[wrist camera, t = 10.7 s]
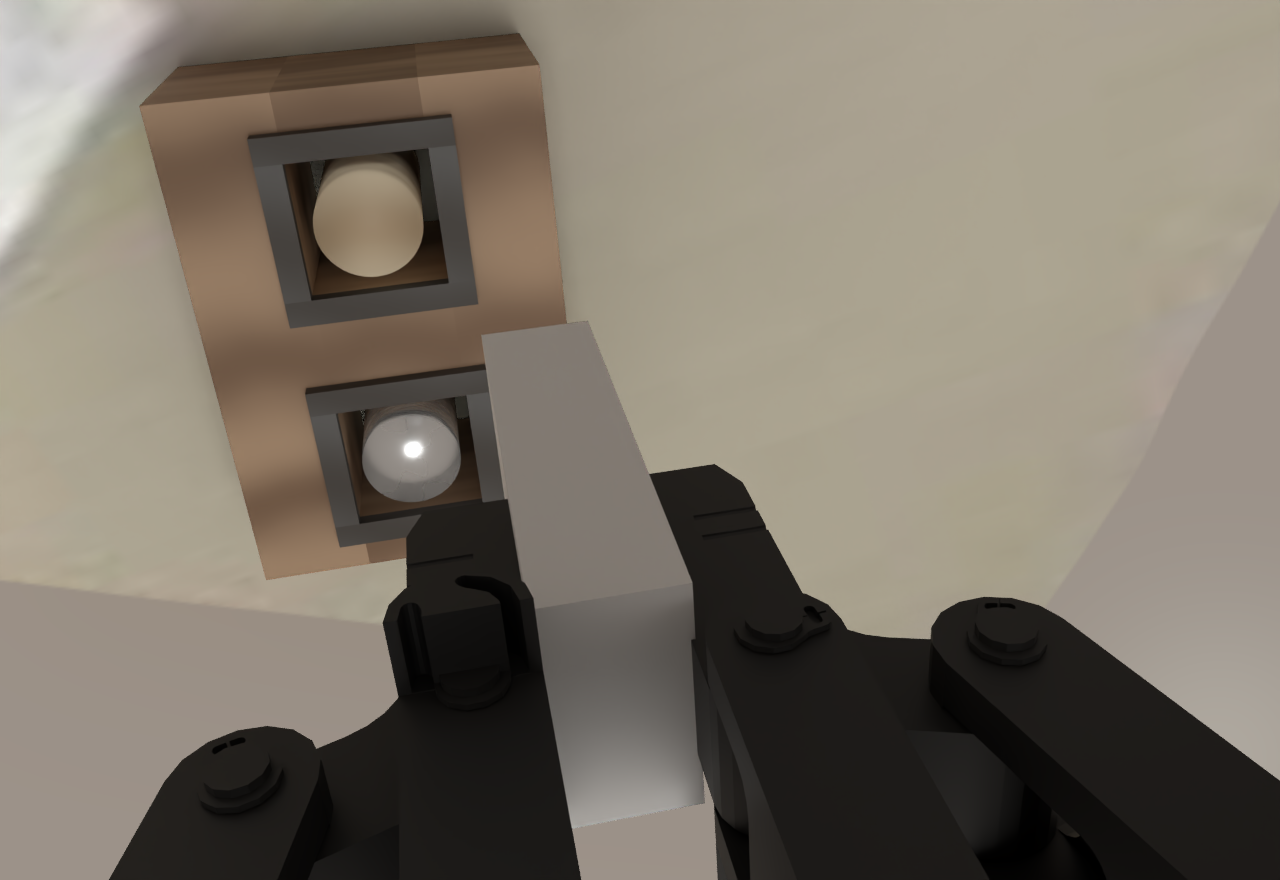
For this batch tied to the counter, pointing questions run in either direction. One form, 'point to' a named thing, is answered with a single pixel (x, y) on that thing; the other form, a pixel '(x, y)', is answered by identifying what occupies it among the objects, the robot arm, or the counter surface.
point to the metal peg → (412, 449)
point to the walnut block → (343, 302)
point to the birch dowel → (370, 212)
